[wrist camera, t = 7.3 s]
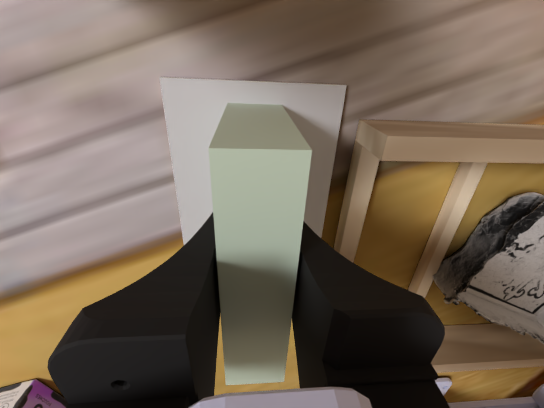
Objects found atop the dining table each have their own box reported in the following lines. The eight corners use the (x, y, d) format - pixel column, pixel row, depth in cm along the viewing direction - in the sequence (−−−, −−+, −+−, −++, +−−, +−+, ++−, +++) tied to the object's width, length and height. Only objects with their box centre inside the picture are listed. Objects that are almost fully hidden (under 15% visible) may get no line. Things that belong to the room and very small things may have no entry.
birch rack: (563, 327, 23) (604, 362, 20) (315, 339, 21) (324, 379, 18) (741, 130, 15) (846, 147, 12) (359, 119, 13) (387, 135, 10)
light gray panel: (312, 279, 18) (313, 283, 18) (191, 282, 17) (190, 286, 17) (344, 84, 12) (346, 85, 12) (161, 76, 11) (159, 77, 11)
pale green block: (271, 271, 17) (283, 381, 11) (233, 272, 17) (226, 385, 11) (281, 104, 12) (312, 150, 6) (227, 102, 12) (208, 148, 6)
